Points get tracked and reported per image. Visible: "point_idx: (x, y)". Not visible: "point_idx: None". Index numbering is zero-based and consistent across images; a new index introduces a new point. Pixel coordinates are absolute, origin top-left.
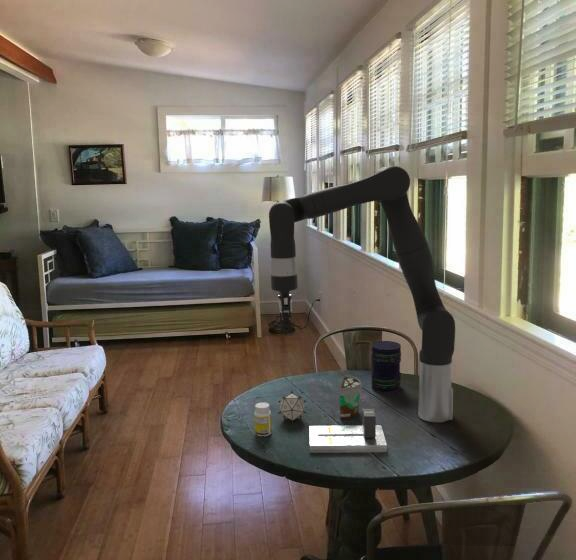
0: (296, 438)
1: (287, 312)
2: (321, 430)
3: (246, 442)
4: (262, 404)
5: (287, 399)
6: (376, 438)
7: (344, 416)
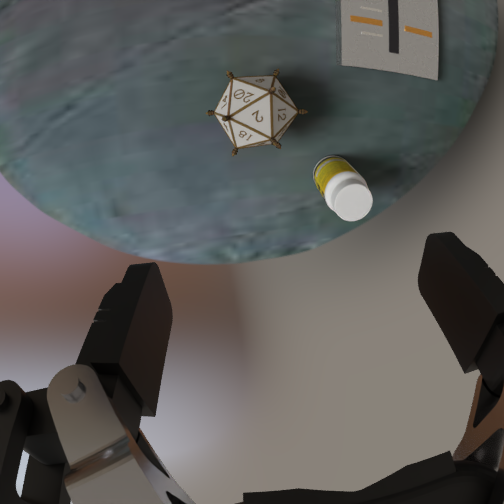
0: (364, 98)
1: (122, 374)
2: (369, 39)
3: None
4: (348, 203)
5: (275, 129)
6: None
7: None
